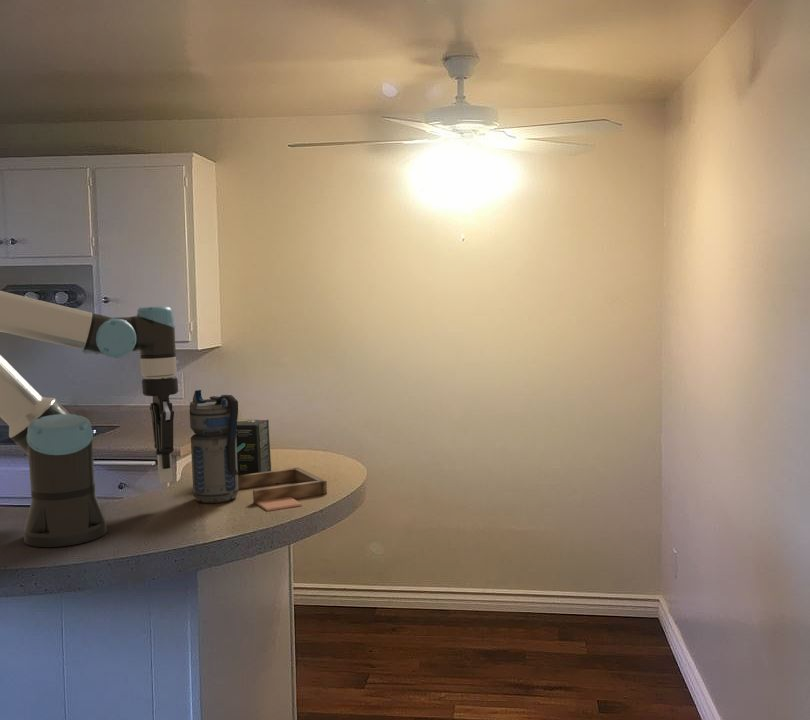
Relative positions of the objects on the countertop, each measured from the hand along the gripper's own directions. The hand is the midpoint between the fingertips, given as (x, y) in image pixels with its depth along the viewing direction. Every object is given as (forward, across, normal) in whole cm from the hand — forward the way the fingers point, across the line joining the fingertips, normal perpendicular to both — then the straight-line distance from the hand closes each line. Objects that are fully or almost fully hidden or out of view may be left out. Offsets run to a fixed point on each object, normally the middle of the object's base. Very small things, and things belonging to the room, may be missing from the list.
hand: (166, 482), depth 184 cm
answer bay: (+6, 0, -26) cm, 26 cm away
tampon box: (+6, +18, -24) cm, 30 cm away
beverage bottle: (+6, 0, -12) cm, 13 cm away
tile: (+6, -12, -22) cm, 25 cm away
